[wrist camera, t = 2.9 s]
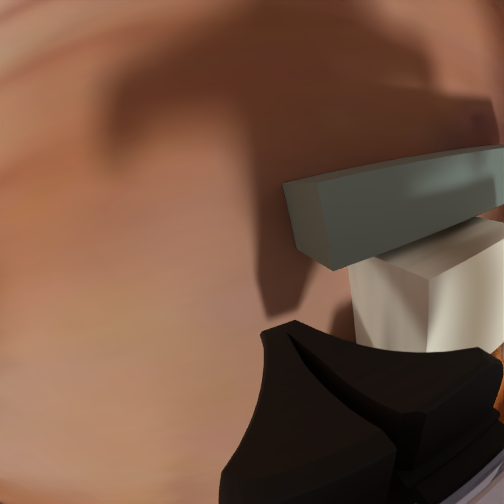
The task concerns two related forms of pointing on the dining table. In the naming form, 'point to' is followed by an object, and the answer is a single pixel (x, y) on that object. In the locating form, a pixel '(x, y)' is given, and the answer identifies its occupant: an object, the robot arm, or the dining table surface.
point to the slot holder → (391, 202)
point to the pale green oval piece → (503, 351)
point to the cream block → (434, 292)
